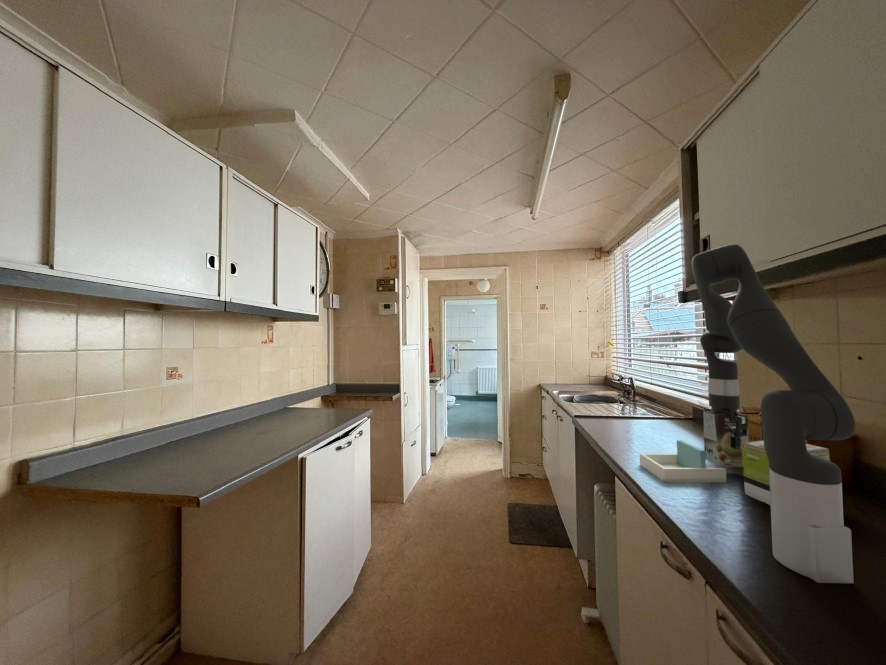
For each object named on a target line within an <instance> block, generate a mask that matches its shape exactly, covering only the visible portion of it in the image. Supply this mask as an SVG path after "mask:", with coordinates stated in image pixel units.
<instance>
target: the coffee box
mask: <svg viewBox="0 0 886 665" xmlns="http://www.w3.org/2000/svg"><path fill="white" fill-rule="evenodd" d="M702 412H703V441H704V442H703V444H704V445H703V446H704V448H703V450H705V457H706V461H707V462H709V463H711V464H714V465H715V466H718V467H735V468H737V467H738V468H739V467H740V468H741V467H742V468H743V455H742V442H750V441H749V440H750V439H749V428H748V429H747V436H744V437H741V447H740V449H733V448H731V435H730V430H729V429H728V425H730V426H736V422H735V418H734V419H733V421H732V422H731V421H730V420H729V415H727V414H724V413H720V412H716V411H704V410H703V411H702ZM737 413H738V416H741V417H747V418H748V419H749V415H747V414H744V413H741V412H737ZM733 431H734V433H736V429H733ZM741 432H742V429H741Z"/></svg>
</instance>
